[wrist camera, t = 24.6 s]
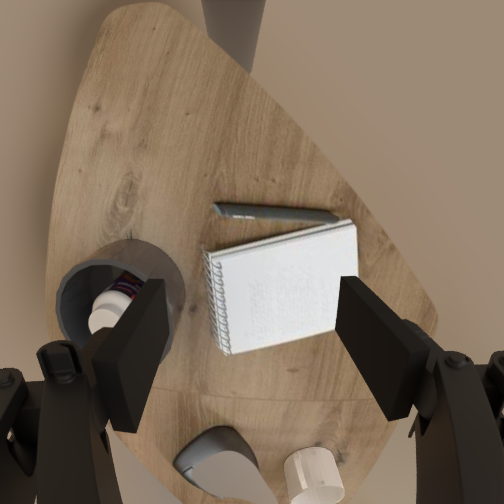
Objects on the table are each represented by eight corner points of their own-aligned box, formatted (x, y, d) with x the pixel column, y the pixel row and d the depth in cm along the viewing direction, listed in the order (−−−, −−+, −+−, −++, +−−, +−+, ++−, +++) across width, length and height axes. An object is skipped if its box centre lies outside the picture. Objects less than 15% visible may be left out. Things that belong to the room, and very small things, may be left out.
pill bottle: (162, 291, 38) (142, 328, 28) (137, 320, 38) (114, 361, 29) (128, 262, 36) (98, 291, 27) (105, 292, 37) (73, 326, 28)
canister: (81, 241, 36) (45, 260, 27) (181, 237, 37) (165, 257, 28) (97, 335, 39) (72, 370, 31) (189, 337, 40) (180, 378, 31)
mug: (335, 466, 49) (347, 502, 40) (289, 478, 49) (296, 516, 40) (326, 430, 46) (340, 470, 37) (274, 444, 46) (280, 487, 37)
